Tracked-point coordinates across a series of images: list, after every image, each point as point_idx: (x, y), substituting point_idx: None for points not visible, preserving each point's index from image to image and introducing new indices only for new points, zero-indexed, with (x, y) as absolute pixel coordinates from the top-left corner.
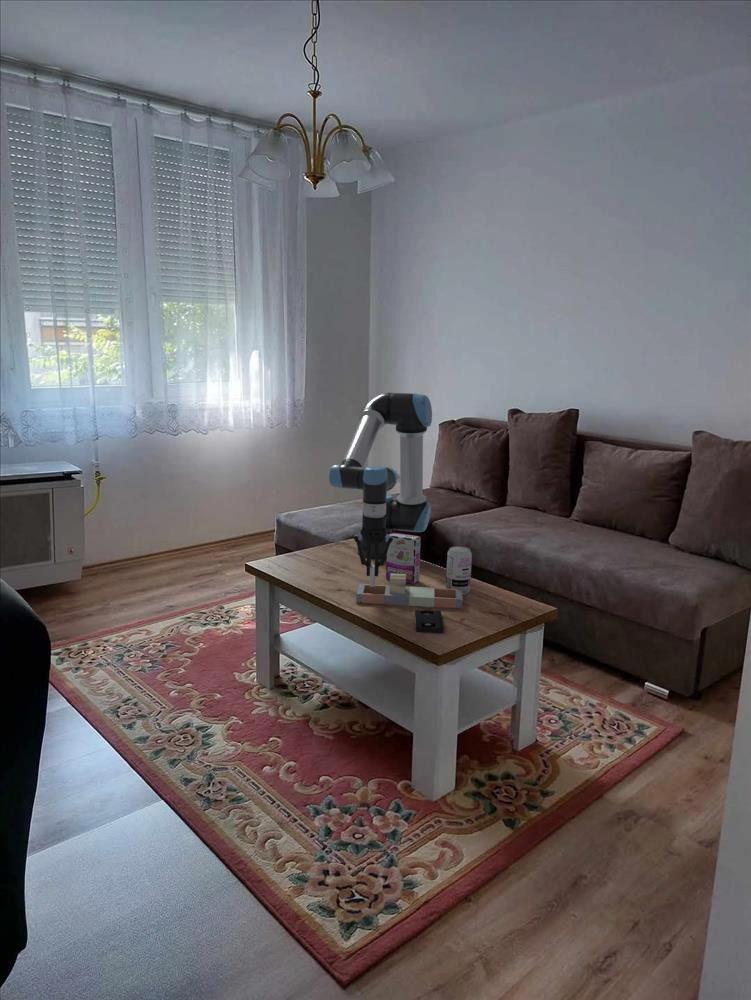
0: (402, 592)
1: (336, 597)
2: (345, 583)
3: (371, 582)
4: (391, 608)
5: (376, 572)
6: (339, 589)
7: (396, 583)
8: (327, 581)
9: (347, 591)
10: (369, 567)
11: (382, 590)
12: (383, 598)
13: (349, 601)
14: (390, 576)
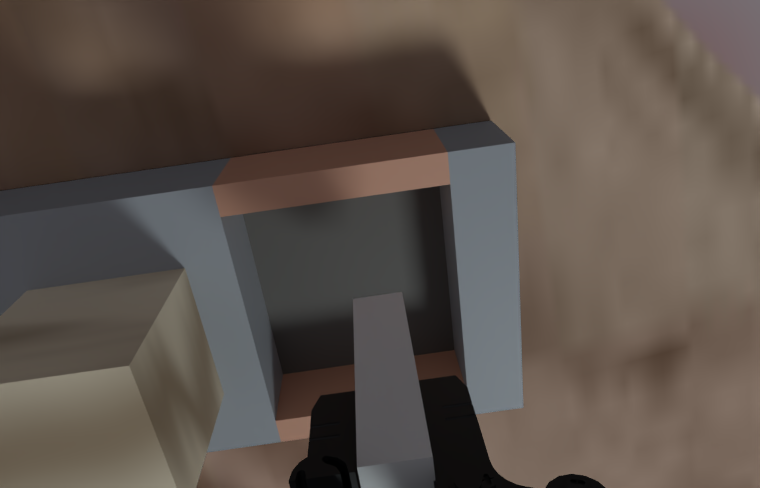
0: (45, 293)
1: (679, 197)
2: (626, 484)
3: (384, 319)
4: (124, 68)
5: (333, 431)
6: (663, 370)
7: (67, 337)
8: (757, 481)
9: (597, 350)
10: (445, 469)
11: (309, 388)
12: (226, 173)
13: (555, 135)
14: (149, 425)
